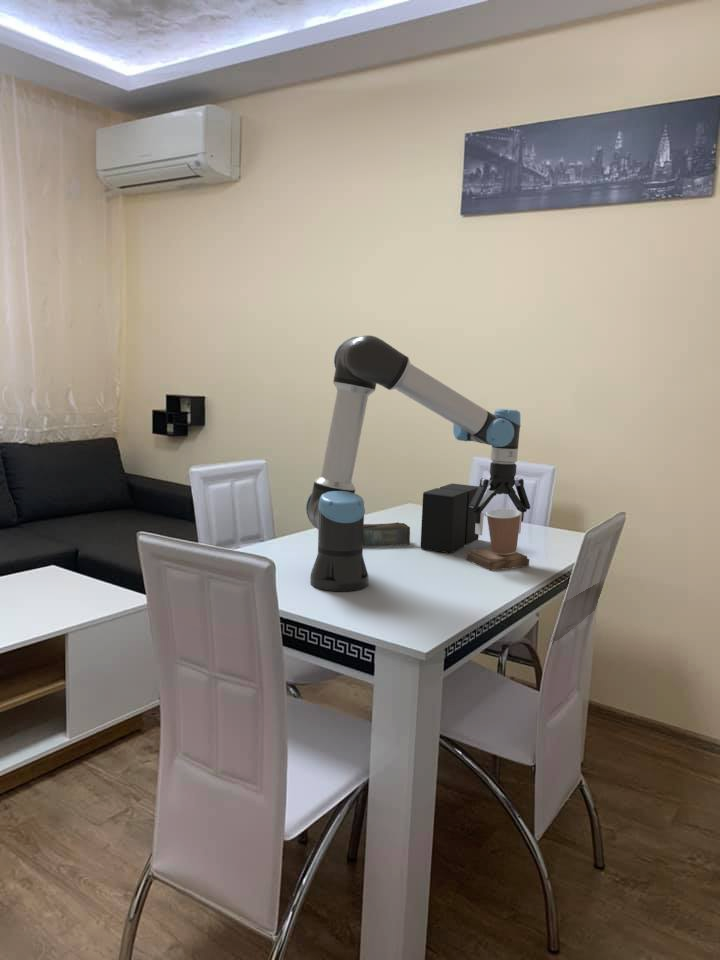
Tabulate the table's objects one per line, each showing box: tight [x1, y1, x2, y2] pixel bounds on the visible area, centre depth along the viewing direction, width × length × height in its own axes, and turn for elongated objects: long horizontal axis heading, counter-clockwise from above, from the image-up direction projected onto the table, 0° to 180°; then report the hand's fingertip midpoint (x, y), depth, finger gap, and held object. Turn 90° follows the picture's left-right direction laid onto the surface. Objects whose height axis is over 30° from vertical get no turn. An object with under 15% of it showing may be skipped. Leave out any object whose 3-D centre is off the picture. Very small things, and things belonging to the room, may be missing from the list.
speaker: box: [419, 483, 480, 554], centre depth 229 cm, size 25×11×19 cm, turn 150°
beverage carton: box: [363, 521, 411, 547], centre depth 228 cm, size 8×19×7 cm, turn 102°
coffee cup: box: [485, 508, 521, 555], centre depth 207 cm, size 10×10×12 cm
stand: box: [465, 548, 530, 571], centre depth 208 cm, size 14×12×3 cm
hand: (497, 533), depth 206 cm, fingers open, 13 cm apart
